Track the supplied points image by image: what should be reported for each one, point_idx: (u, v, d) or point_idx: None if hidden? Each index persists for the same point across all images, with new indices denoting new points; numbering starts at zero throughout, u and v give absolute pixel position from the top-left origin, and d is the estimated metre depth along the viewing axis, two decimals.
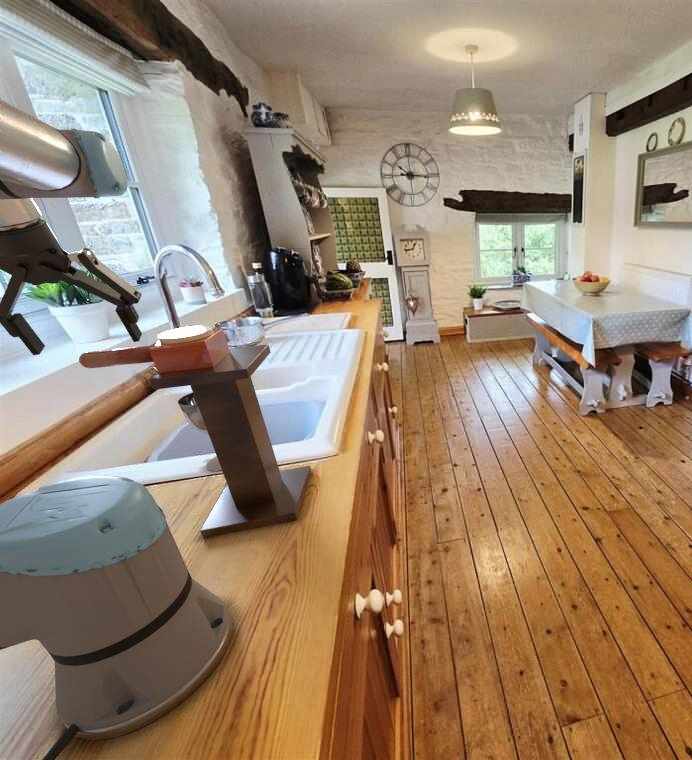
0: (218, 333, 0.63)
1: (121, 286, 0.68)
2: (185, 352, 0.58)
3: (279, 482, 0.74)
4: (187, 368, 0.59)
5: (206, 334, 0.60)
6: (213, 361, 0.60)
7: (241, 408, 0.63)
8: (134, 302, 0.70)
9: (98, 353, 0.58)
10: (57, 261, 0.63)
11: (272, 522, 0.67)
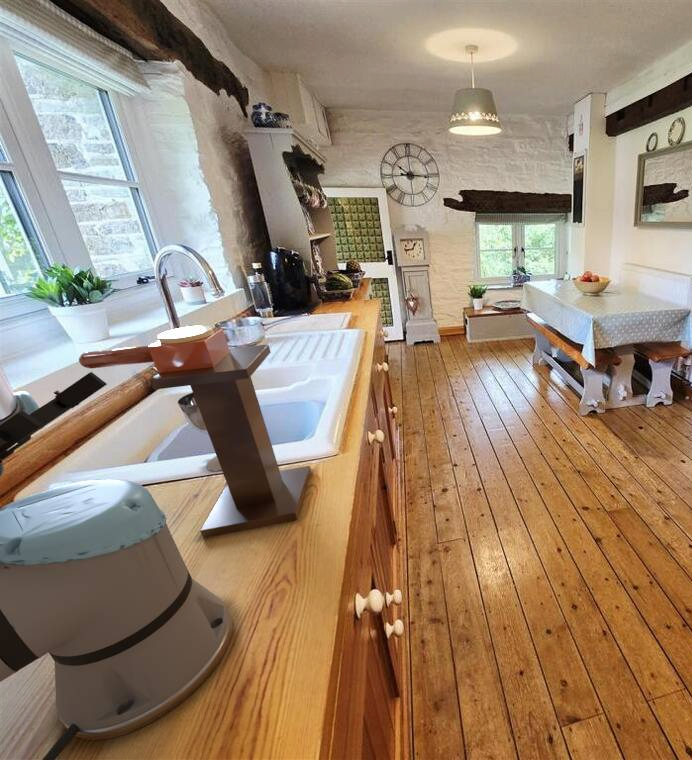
0: (218, 333, 0.63)
1: None
2: (185, 352, 0.58)
3: (279, 482, 0.74)
4: (187, 368, 0.59)
5: (206, 334, 0.60)
6: (213, 361, 0.60)
7: (241, 408, 0.63)
8: None
9: (98, 353, 0.58)
10: None
11: (272, 522, 0.67)
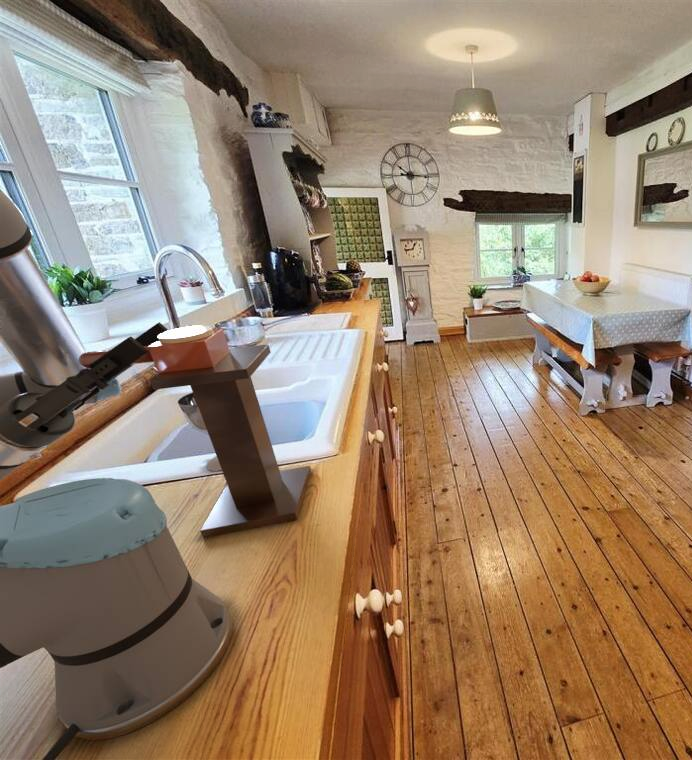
0: (218, 333, 0.63)
1: None
2: (185, 352, 0.58)
3: (279, 482, 0.74)
4: (187, 368, 0.59)
5: (206, 334, 0.60)
6: (213, 361, 0.60)
7: (241, 408, 0.63)
8: None
9: (98, 353, 0.58)
10: None
11: (272, 522, 0.67)
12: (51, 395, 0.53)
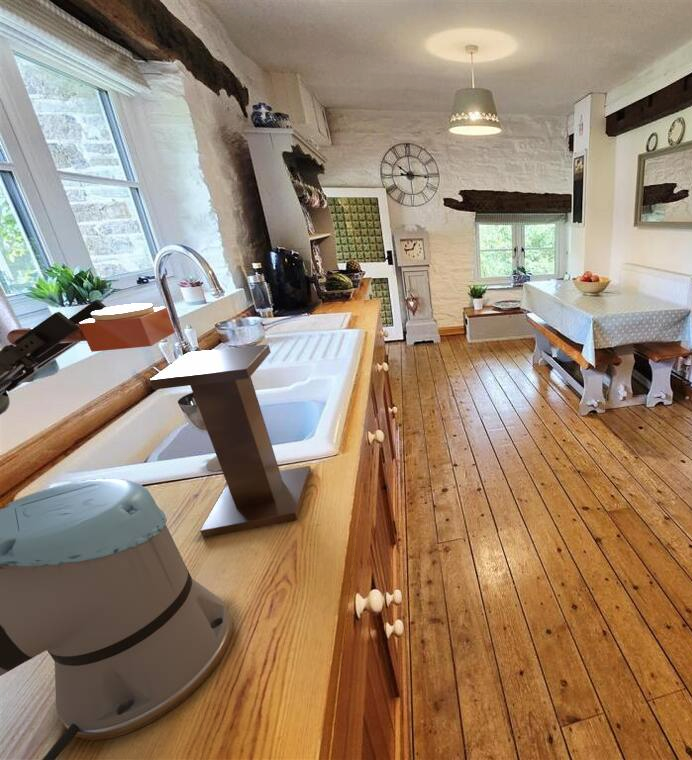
0: (160, 311, 0.59)
1: None
2: (119, 330, 0.55)
3: (279, 482, 0.74)
4: (123, 347, 0.56)
5: (144, 311, 0.57)
6: (151, 340, 0.57)
7: (241, 408, 0.63)
8: None
9: (28, 330, 0.55)
10: None
11: (272, 522, 0.67)
12: None
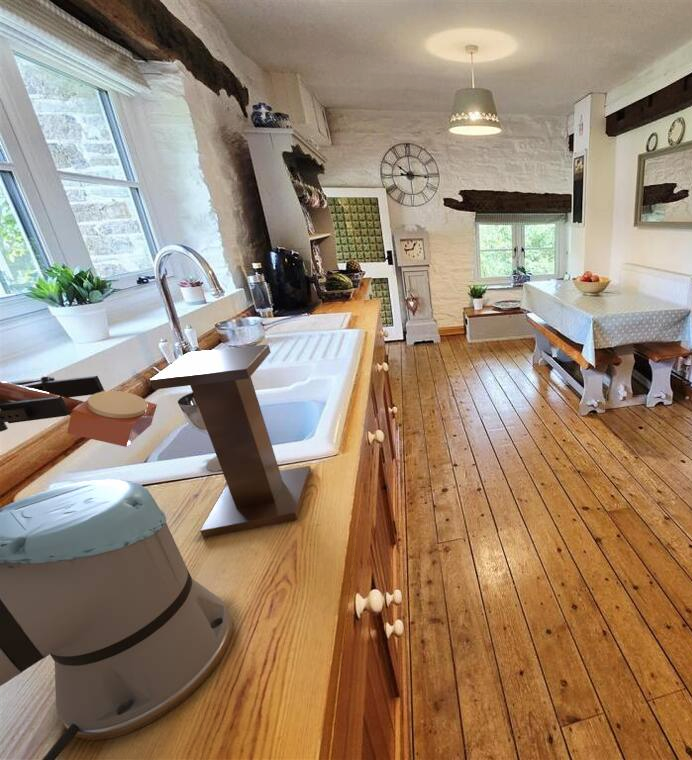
0: (150, 411, 0.64)
1: (27, 380, 0.63)
2: (106, 426, 0.59)
3: (279, 482, 0.74)
4: (99, 439, 0.59)
5: (138, 414, 0.61)
6: (129, 441, 0.61)
7: (241, 408, 0.63)
8: (49, 377, 0.63)
9: (15, 389, 0.57)
10: None
11: (272, 522, 0.67)
12: None
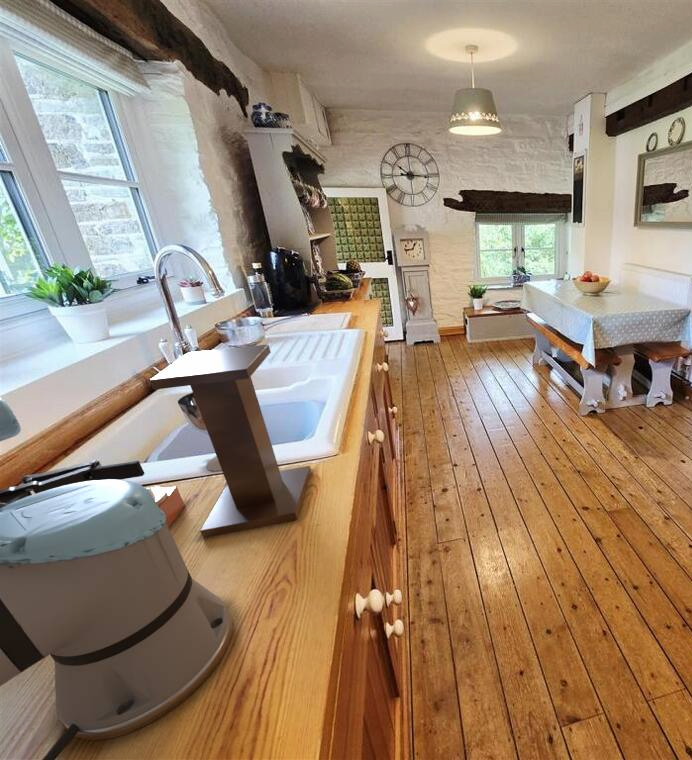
0: (171, 494, 0.70)
1: (74, 465, 0.70)
2: None
3: (279, 482, 0.74)
4: None
5: (159, 502, 0.67)
6: None
7: (241, 408, 0.63)
8: (95, 461, 0.71)
9: None
10: None
11: (272, 522, 0.67)
12: None
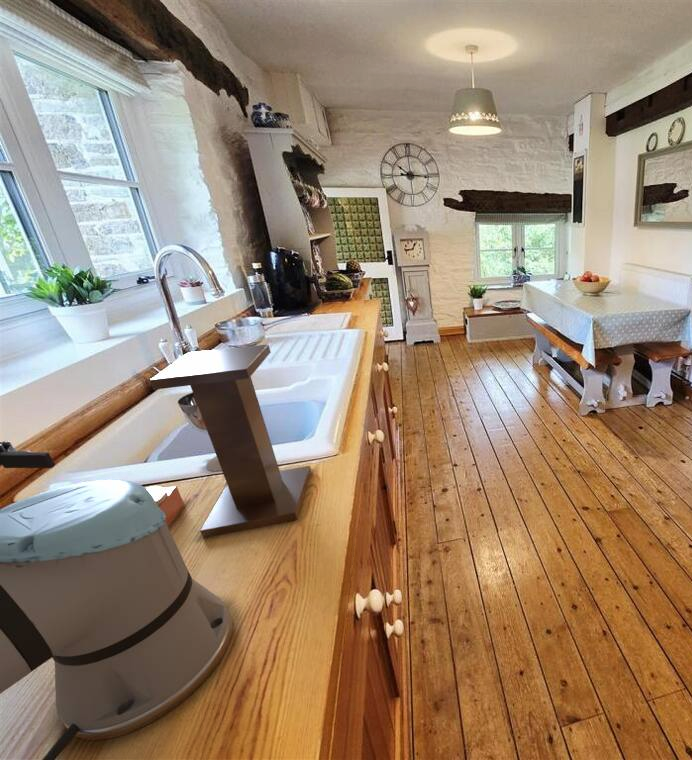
0: (171, 494, 0.70)
1: None
2: None
3: (279, 482, 0.74)
4: None
5: (159, 501, 0.67)
6: None
7: (241, 408, 0.63)
8: (6, 443, 0.67)
9: None
10: None
11: (272, 522, 0.67)
12: None
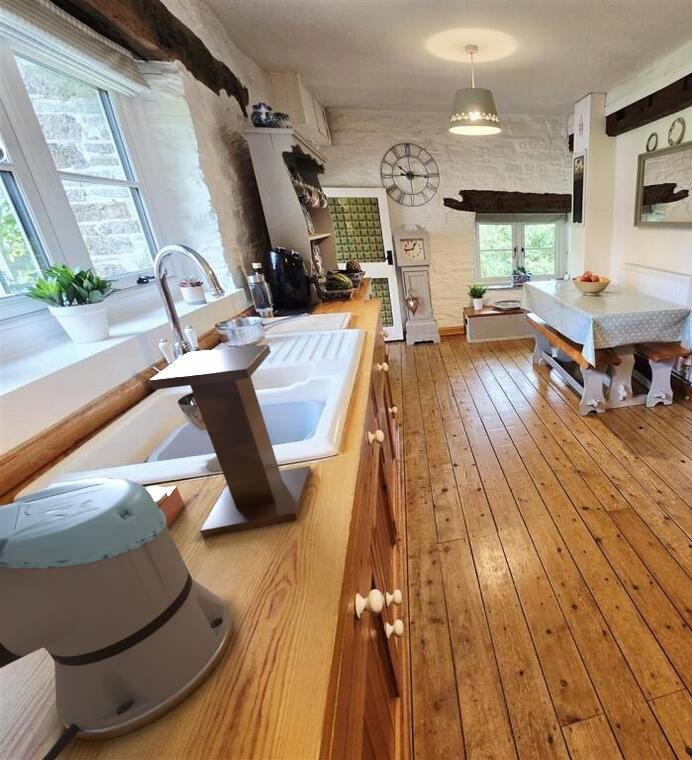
0: (171, 494, 0.70)
1: None
2: None
3: (279, 482, 0.74)
4: None
5: (159, 501, 0.67)
6: None
7: (241, 408, 0.63)
8: None
9: None
10: None
11: (272, 522, 0.67)
12: None
